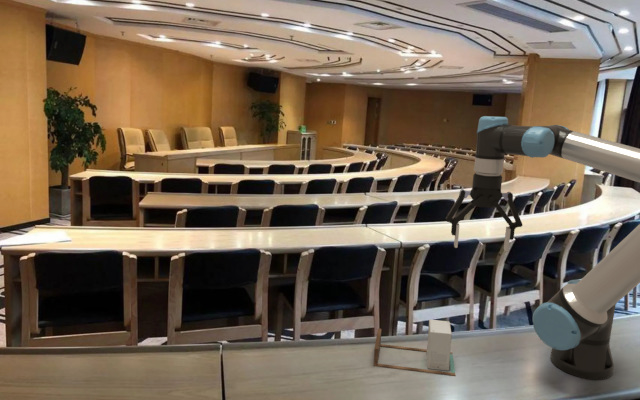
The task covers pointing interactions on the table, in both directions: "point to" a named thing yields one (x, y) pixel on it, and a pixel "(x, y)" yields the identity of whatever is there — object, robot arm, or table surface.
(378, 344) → the bay
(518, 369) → the table surface
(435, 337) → the small box
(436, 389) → the table surface
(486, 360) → the table surface
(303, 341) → the table surface
